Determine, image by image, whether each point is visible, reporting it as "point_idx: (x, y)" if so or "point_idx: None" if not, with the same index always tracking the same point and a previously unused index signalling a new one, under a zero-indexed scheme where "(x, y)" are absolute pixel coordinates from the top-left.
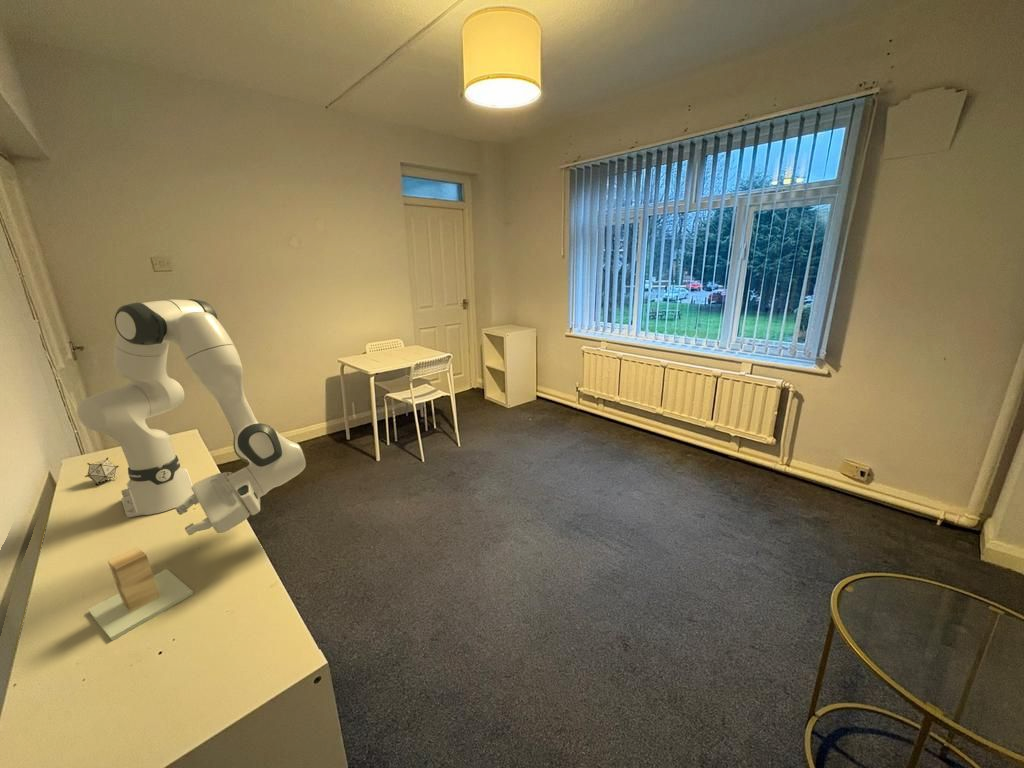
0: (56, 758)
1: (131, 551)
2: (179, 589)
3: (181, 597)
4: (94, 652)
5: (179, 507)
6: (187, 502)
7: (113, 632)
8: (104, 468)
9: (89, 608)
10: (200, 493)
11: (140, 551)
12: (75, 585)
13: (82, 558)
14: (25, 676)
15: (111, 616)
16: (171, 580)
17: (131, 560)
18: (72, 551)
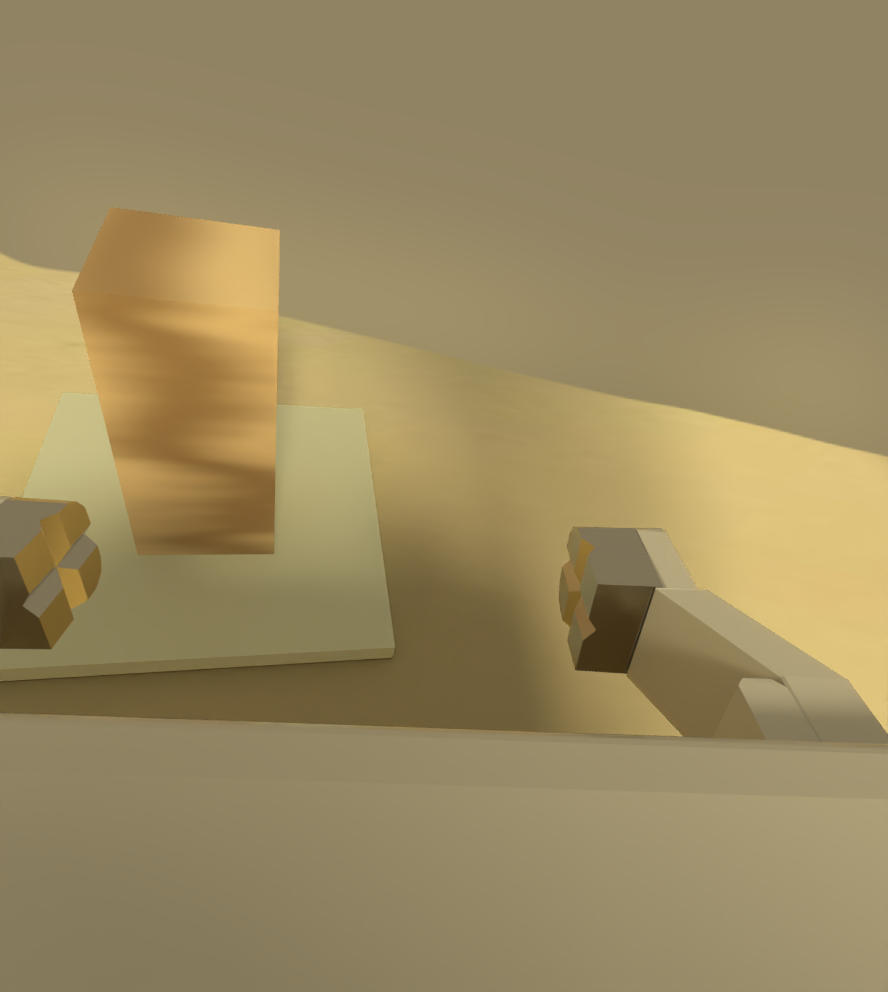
0: None
1: (254, 285)
2: (77, 629)
3: None
4: (70, 372)
5: (614, 545)
6: (702, 648)
7: (88, 404)
8: None
9: (362, 412)
10: (762, 837)
11: (182, 296)
12: (594, 442)
13: (789, 494)
14: None
15: None
16: (233, 629)
17: (116, 251)
18: (863, 490)
